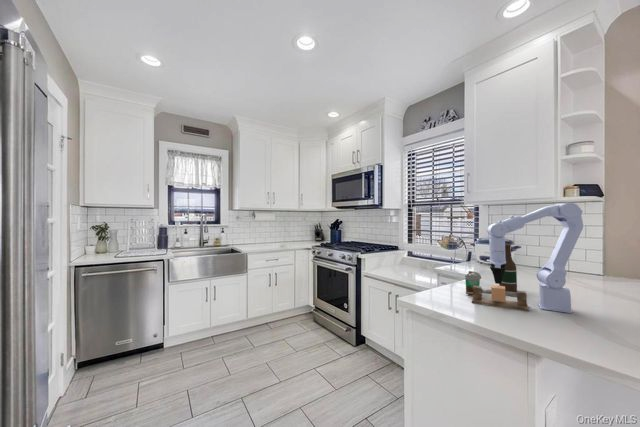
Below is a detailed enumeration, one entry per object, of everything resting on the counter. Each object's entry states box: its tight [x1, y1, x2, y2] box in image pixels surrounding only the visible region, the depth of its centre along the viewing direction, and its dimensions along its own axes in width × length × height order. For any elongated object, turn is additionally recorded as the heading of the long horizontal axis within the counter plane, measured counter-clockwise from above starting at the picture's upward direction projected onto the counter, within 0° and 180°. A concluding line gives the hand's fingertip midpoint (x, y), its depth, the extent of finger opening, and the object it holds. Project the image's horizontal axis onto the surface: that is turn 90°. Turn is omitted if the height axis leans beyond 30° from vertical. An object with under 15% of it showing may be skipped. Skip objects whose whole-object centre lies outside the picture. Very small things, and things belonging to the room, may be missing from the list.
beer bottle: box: [498, 243, 518, 293], centre depth 133 cm, size 8×8×24 cm
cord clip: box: [490, 284, 507, 302], centre depth 113 cm, size 5×5×6 cm
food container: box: [464, 270, 482, 296], centre depth 129 cm, size 12×6×10 cm, turn 143°
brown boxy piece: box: [471, 285, 530, 312], centre depth 113 cm, size 20×8×6 cm, turn 55°
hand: (498, 281), depth 113 cm, fingers open, 7 cm apart
